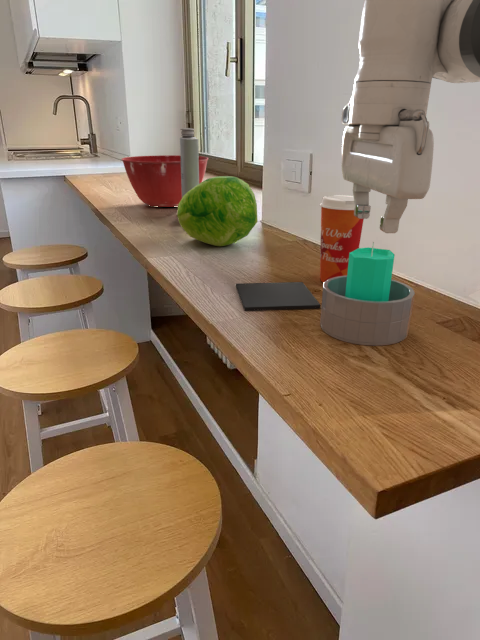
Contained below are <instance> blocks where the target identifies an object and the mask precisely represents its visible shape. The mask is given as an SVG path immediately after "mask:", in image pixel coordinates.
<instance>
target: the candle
mask: <svg viewBox="0 0 480 640" xmlns="http://www.w3.org/2000/svg"><path fill="white" fill-rule="evenodd" d="M374 245H375V242H374V241H372V246H371V247H369V246H368V247H359V248H358V249H356V250H354V251H352V252H350V253H349V262H348V272H347V282H346V292H345V297H348V298H352V299H358V300H364V301H377V302H378V301H388V300H389V293H390V285H391V279H392V278H393V270H394V262H395V256H396V255H395V253H394V252H392V251H391V250H390V249H386V248H385V249H384V248H377V247H374Z"/></svg>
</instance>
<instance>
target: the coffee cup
mask: <svg viewBox="0 0 480 640" xmlns="http://www.w3.org/2000/svg"><path fill="white" fill-rule="evenodd" d="M319 207H320V208H321V209H320V248H319V249H320V252H319V253H320V254H319V255H320V256H319V267H320V268H319V279H320V282H322V283H323V284H324V282H325V281H326V280H328V279H330V278H333V277H337V276H344V275H347V272H348V262H349V253H350V252H352V251H354V250H356V249H358V248H360V245H361V238H362V232H363V226H364V220H365V219H359V218H357V217H355V216H354V208H355V203H354V196H353V195H348V194H331V195H325V196H323V197H322V199H321V202H320V203H319Z"/></svg>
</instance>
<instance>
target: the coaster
mask: <svg viewBox="0 0 480 640" xmlns="http://www.w3.org/2000/svg"><path fill="white" fill-rule="evenodd" d="M235 288H236V291H237V294H238V296H239V299H240V302H241V305H242V307H243V309H244V311H245V312H248V311H250V312H251V311H252V312H254V311H282V310H283V311H287V310H311V309H312V310H313V309H314V310H318V309H320V310H321V306H322V304H321V303H320V302H319V301H318V300H317V299H316V297H315V296H314V295H313V293H312V292H311V291H310V289H309V288H308V287H307V286H306V284H305V283H304V282H303V281H285V282H283V281H282V282H281V281H280V282H244V283H243V282H241V283H235Z"/></svg>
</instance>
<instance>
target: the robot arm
mask: <svg viewBox="0 0 480 640" xmlns="http://www.w3.org/2000/svg"><path fill="white" fill-rule="evenodd" d="M359 24H360V25H359V33H358V49H359V64H358V67H357V72H356V74H355V77H354V80H353V83H354V84H353V90H352V95H351V96H350V99H349V101H348V102H347V104H345V106H344V107H343V108H342V111H341V117H340V118H341V119H340V122H341V125H343V126H345V128H344V131H343V135H342V143H341V144H342V145H341V146H342V147H341V173H342V174H341V175H342V178H343V180H344V181H347V182H349V183H352V196H354V203H355V208H354V216H355V217H357V218H359V219H364V220H367V219H369V218H370V216H371V208H372V206H371V205H370V193H371V191H372V190H373V191H374V192H378V193H381V194H383V195H386V197H385V205H386V208H385V210H384V211H385V212H384V214H383V216H380V222H379V223H380V224H379V230H380V231H382V232H383V233H385V234H396V233H398V231H399V226H400V219H401V218H402V216H403V215H404V213H405V211H406V209H407V207H408V202H409V200H423V199H425V197H426V195H427V194H428V192H429V190H430V187H431V179H432V171H433V161H434V144H435V143H434V142H435V141H434V139H435V138H434V134H433V131H432V130H431V129H430V121H429V120H428V119H427V113H428V107H429V99H430V93H431V87H432V82H433V81H432V80H433V79H435V80H436V79H437V80H441V81H443V82H447V83H450V84H467V83H478V82H480V0H363V4H362V11H361V17H360V23H359Z"/></svg>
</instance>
